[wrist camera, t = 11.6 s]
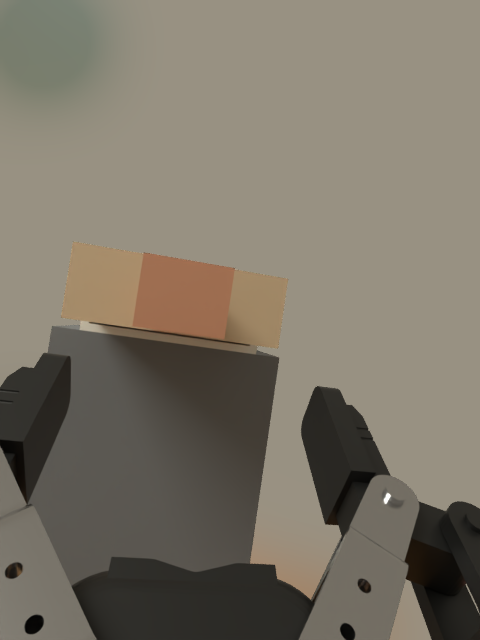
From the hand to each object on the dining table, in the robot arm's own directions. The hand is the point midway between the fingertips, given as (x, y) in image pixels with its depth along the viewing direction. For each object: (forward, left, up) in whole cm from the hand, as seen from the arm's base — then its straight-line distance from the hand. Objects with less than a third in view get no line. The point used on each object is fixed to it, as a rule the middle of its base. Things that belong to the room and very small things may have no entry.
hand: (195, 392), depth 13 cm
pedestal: (-1, +26, -29) cm, 40 cm away
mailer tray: (-1, +11, +2) cm, 11 cm away
